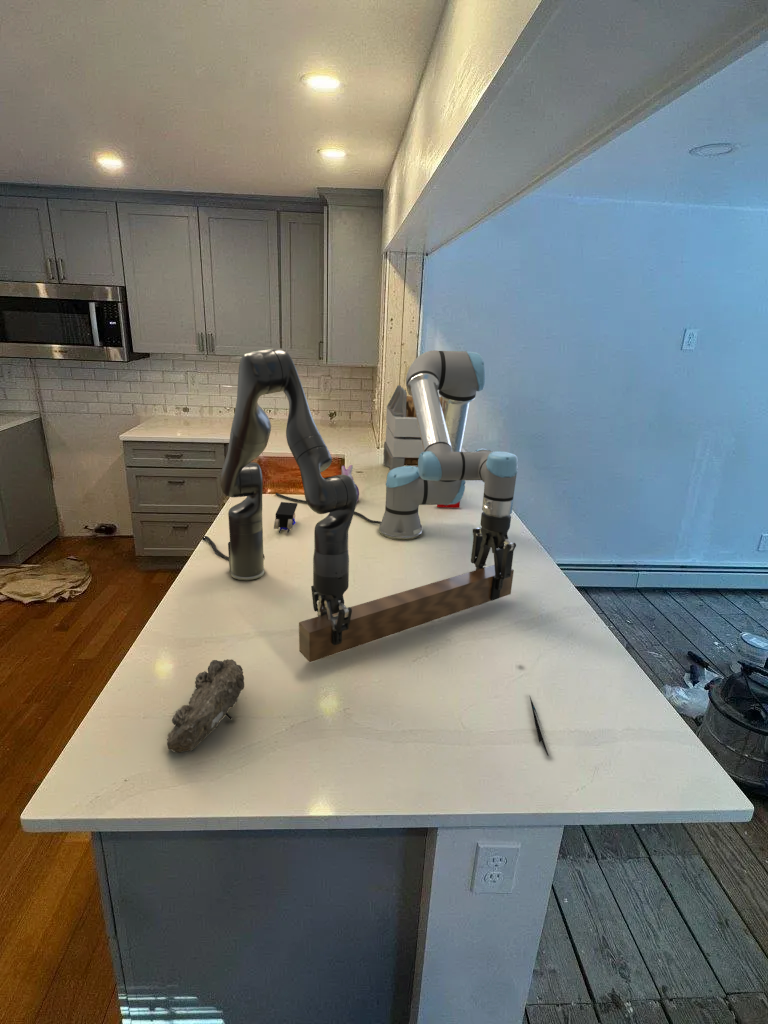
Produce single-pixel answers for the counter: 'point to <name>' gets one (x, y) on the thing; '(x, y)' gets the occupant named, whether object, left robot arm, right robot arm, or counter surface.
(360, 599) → the counter surface
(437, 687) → the counter surface
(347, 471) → the figurine
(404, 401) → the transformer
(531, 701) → the feather
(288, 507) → the figurine character
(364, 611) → the bar
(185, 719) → the fossil
